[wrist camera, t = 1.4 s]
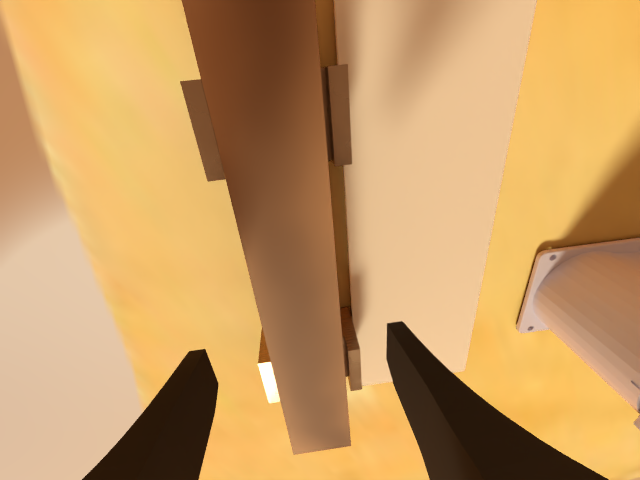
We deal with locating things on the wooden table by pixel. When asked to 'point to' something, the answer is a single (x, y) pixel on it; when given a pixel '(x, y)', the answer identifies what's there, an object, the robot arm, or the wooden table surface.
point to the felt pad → (425, 162)
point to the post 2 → (349, 349)
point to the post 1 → (334, 114)
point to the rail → (280, 196)
